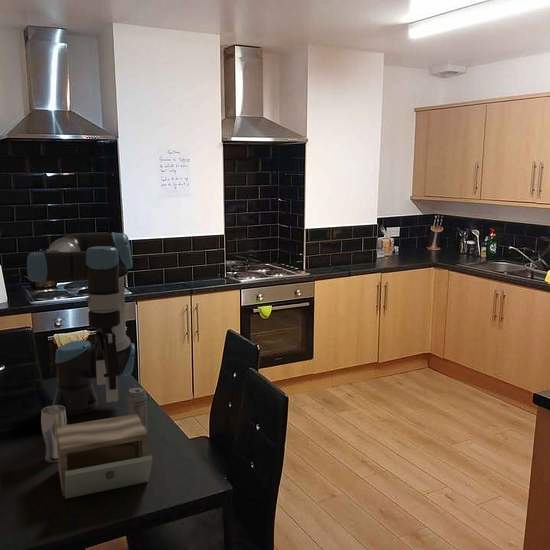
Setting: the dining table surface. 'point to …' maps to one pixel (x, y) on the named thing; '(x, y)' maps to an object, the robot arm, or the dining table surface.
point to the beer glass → (52, 429)
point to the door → (107, 476)
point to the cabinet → (99, 443)
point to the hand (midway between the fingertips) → (107, 392)
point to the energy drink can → (137, 404)
